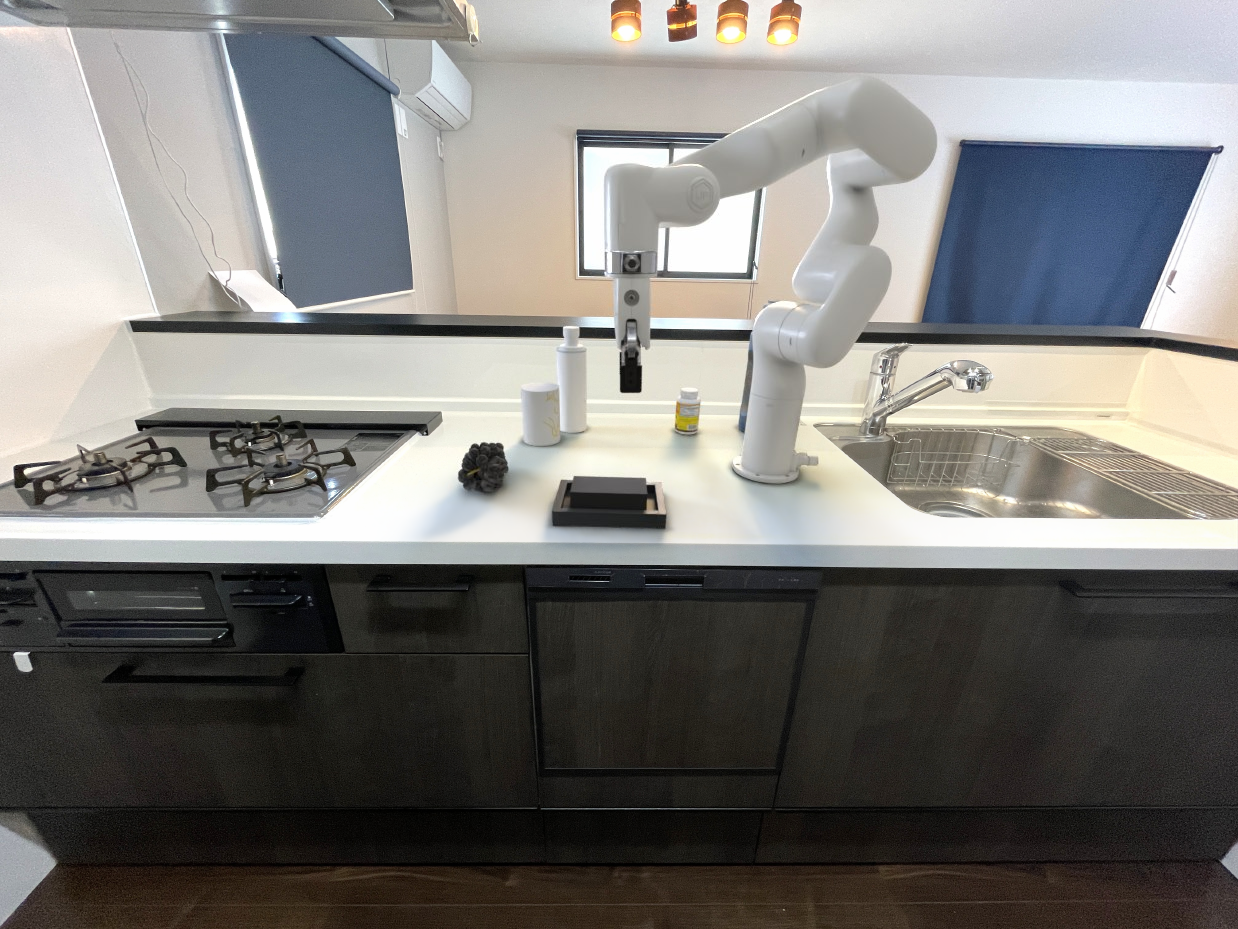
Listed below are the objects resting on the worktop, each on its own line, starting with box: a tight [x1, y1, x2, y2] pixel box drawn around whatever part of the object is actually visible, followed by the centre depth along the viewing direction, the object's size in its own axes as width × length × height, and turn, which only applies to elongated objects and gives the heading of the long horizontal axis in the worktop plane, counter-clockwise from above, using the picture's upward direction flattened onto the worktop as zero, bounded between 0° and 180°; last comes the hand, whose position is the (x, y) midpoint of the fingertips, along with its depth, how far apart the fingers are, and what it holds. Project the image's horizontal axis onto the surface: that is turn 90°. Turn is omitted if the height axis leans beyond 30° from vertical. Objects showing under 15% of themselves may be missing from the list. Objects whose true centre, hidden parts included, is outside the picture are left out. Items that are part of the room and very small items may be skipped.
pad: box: [570, 475, 647, 510], centre depth 80 cm, size 12×6×4 cm, turn 89°
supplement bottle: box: [674, 387, 702, 436], centre depth 115 cm, size 6×6×10 cm
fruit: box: [457, 441, 510, 493], centre depth 88 cm, size 9×8×15 cm
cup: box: [520, 381, 561, 447], centre depth 107 cm, size 8×8×12 cm
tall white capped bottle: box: [556, 325, 588, 434], centre depth 112 cm, size 7×7×25 cm
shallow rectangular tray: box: [551, 479, 667, 530], centre depth 80 cm, size 17×11×2 cm, turn 89°
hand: (629, 383), depth 77 cm, fingers open, 9 cm apart
